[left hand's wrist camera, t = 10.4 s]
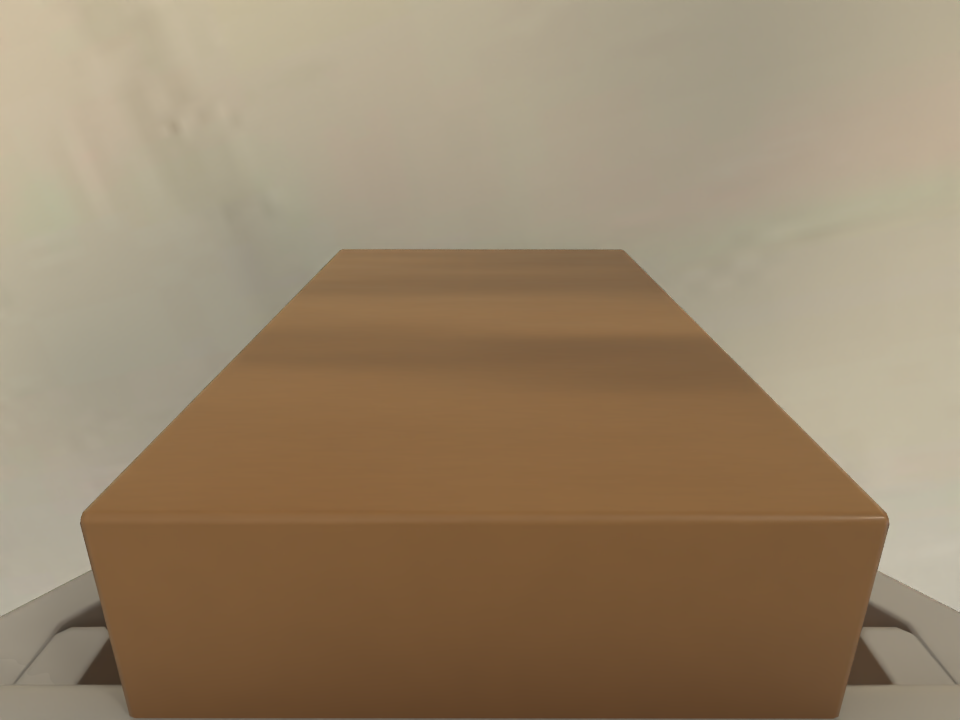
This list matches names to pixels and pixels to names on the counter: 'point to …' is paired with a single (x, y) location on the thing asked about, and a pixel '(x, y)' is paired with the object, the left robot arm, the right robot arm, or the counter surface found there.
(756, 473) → the bar
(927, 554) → the counter surface
